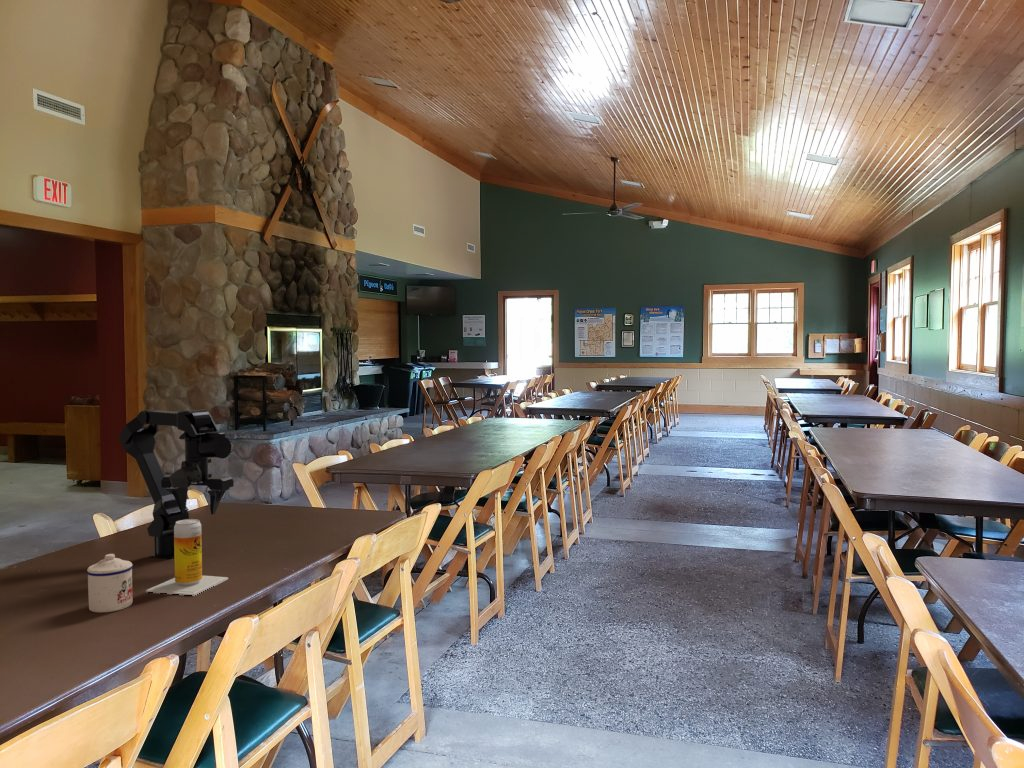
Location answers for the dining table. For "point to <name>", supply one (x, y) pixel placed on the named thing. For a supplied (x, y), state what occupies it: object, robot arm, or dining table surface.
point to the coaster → (193, 590)
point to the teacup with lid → (110, 584)
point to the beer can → (188, 552)
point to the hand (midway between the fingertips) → (197, 513)
